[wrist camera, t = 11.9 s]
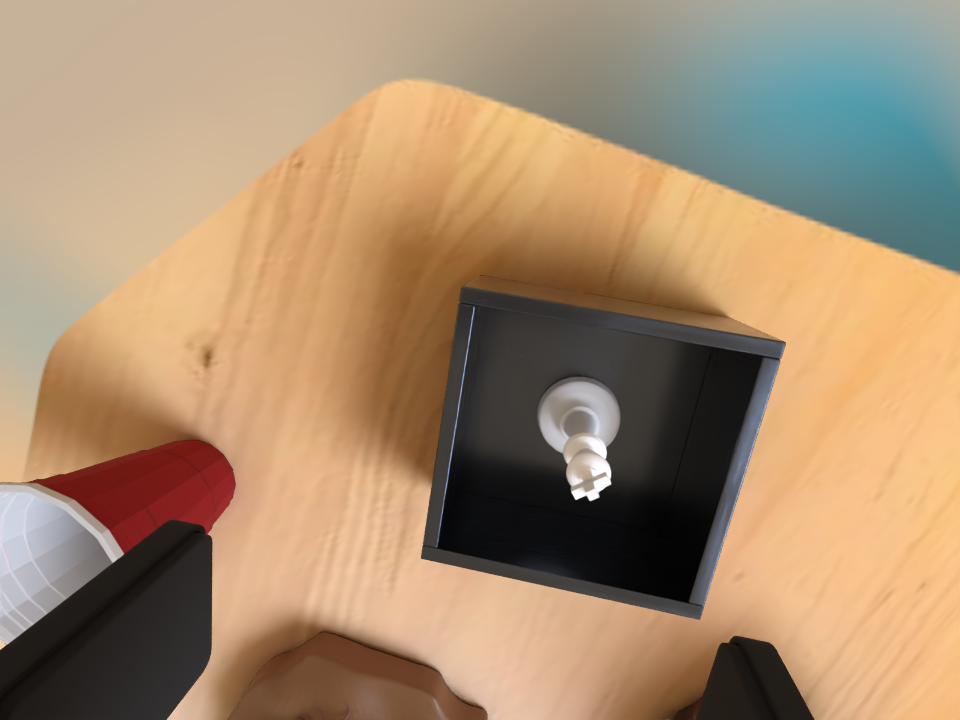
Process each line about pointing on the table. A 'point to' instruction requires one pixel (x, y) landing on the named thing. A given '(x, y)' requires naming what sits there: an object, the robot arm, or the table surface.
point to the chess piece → (581, 430)
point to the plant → (348, 687)
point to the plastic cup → (98, 521)
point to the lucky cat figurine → (687, 712)
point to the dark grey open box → (631, 455)
